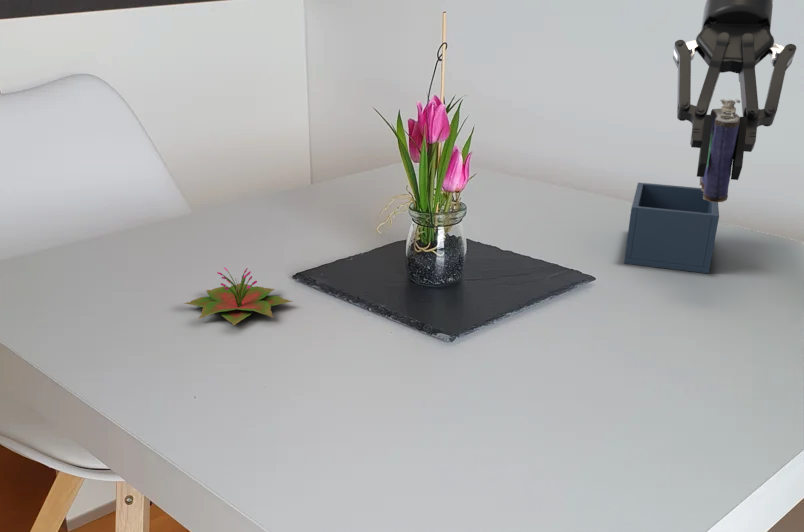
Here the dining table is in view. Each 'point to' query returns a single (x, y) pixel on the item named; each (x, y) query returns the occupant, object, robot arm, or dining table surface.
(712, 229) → the bin
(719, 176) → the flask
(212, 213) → the dining table surface
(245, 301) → the lily flower
